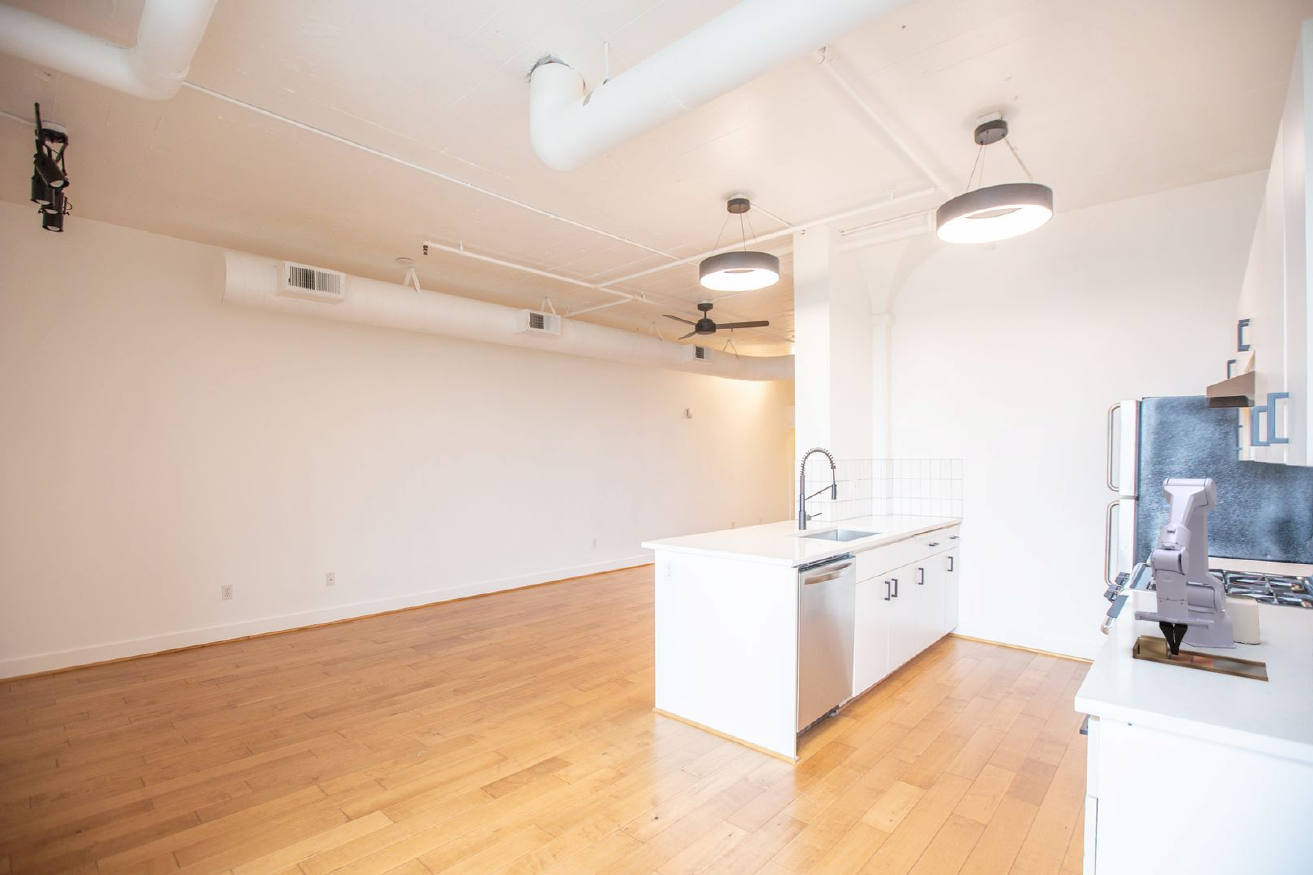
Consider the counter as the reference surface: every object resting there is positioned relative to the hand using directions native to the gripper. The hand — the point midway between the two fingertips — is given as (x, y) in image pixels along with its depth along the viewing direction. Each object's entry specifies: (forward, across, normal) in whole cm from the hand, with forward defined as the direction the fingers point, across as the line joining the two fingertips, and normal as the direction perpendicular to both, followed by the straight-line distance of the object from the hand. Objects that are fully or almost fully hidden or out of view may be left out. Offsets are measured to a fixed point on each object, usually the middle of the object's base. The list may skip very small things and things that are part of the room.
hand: (1175, 654), depth 141 cm
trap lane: (+1, +4, 0) cm, 4 cm away
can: (+1, +12, +30) cm, 32 cm away
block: (+1, -4, 0) cm, 4 cm away
